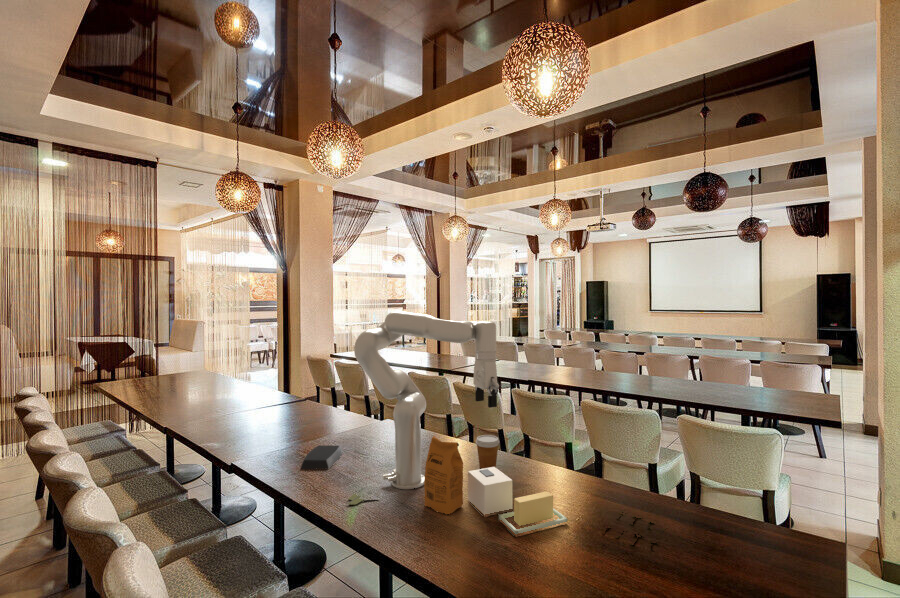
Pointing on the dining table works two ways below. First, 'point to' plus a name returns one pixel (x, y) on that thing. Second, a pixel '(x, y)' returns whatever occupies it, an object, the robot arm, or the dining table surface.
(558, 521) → the tray
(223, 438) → the dining table surface
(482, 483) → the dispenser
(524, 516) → the pale yellow paper bar
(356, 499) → the green leaf
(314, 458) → the dark grey ingot block
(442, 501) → the coffee package
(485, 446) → the disposable coffee cup
